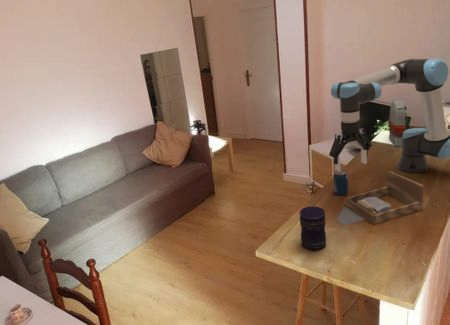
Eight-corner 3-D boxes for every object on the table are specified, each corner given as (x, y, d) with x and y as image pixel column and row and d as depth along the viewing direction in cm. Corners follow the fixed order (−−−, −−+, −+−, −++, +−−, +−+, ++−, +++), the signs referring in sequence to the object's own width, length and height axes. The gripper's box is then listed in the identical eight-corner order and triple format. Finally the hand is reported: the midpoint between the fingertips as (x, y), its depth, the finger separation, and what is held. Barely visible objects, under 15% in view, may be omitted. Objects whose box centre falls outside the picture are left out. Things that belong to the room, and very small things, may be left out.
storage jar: (303, 236, 146) (302, 205, 141) (327, 239, 142) (326, 207, 137) (299, 250, 137) (297, 217, 132) (324, 253, 134) (323, 219, 128)
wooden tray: (388, 192, 173) (389, 170, 169) (421, 209, 154) (423, 185, 150) (344, 205, 166) (344, 183, 162) (373, 224, 148) (374, 199, 144)
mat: (342, 205, 167) (342, 204, 167) (364, 219, 152) (364, 219, 152) (323, 210, 164) (323, 210, 164) (343, 225, 150) (343, 225, 150)
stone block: (375, 204, 167) (358, 206, 163) (377, 195, 165) (360, 197, 162) (393, 215, 156) (376, 217, 153) (396, 205, 154) (378, 207, 151)
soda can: (350, 192, 178) (350, 171, 174) (343, 197, 174) (343, 176, 170) (337, 189, 183) (337, 168, 179) (331, 194, 179) (330, 173, 175)
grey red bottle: (404, 147, 229) (407, 102, 219) (394, 147, 231) (396, 103, 221) (397, 138, 247) (399, 97, 237) (387, 139, 249) (389, 98, 239)
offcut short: (362, 204, 160) (362, 199, 159) (373, 211, 153) (373, 206, 152) (356, 205, 159) (356, 201, 159) (367, 213, 152) (367, 208, 151)
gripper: (368, 113, 152) (368, 157, 159) (319, 125, 146) (321, 170, 153) (380, 116, 145) (380, 162, 152) (329, 128, 139) (331, 176, 146)
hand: (350, 166), depth 153 cm, fingers open, 13 cm apart
